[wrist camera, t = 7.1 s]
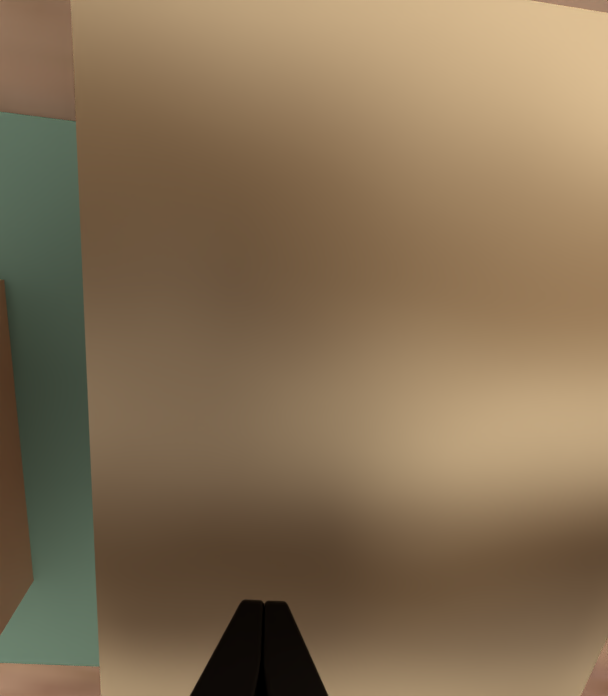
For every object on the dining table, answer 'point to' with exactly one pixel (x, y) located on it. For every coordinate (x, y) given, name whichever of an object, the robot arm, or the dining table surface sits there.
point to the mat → (49, 389)
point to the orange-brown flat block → (11, 487)
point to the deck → (347, 336)
